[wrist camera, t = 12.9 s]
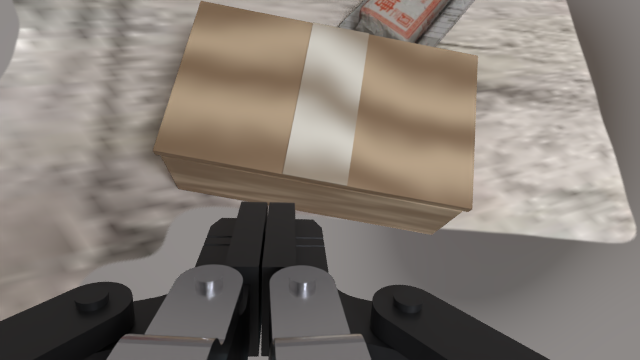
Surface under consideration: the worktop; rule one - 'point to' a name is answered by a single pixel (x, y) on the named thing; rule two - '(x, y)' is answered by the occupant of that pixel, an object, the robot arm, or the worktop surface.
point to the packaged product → (407, 19)
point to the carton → (308, 196)
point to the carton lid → (324, 107)
